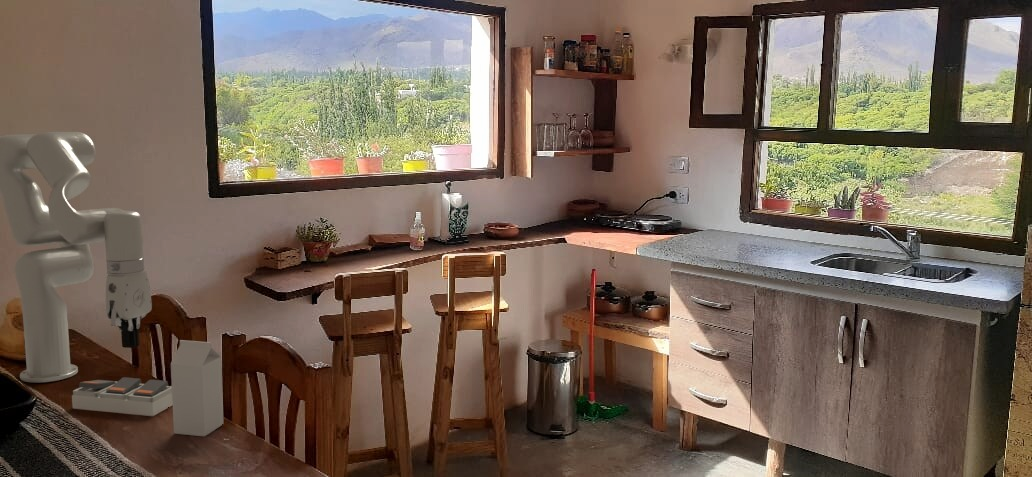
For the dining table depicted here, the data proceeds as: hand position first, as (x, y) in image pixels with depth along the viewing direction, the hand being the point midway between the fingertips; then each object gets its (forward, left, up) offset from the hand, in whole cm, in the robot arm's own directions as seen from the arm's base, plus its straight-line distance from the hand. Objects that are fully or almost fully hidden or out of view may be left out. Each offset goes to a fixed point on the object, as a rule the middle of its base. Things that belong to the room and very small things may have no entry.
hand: (130, 346), depth 185 cm
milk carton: (+26, +2, -13) cm, 29 cm away
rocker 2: (+1, -2, -9) cm, 9 cm away
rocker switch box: (+1, -2, -13) cm, 13 cm away
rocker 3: (+7, +1, -9) cm, 11 cm away
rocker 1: (-5, -6, -9) cm, 11 cm away
